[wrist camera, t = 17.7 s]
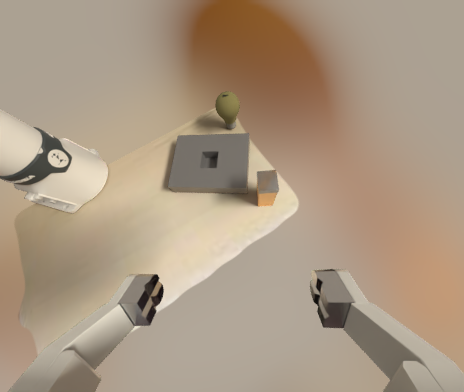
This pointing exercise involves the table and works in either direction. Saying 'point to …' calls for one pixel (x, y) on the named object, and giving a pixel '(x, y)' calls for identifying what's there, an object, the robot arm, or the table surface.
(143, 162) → the table surface
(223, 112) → the light bulb
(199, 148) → the grey block with hole
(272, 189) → the plug
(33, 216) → the table surface
